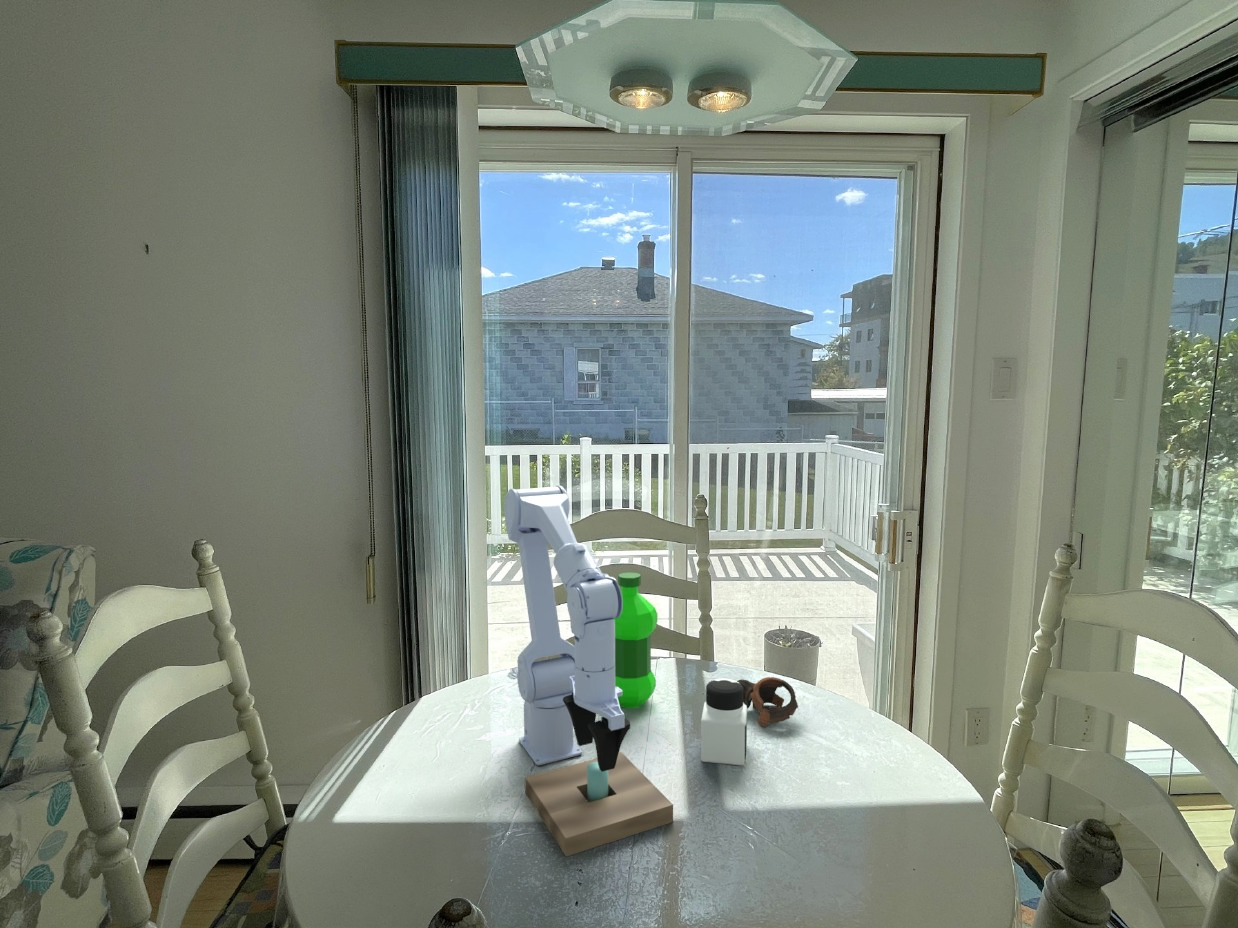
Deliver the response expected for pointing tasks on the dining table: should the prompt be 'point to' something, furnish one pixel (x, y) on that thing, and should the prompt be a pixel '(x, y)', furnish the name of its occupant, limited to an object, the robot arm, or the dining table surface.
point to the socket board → (596, 805)
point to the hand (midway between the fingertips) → (595, 755)
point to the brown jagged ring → (768, 699)
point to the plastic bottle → (634, 644)
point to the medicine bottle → (724, 723)
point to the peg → (596, 782)
